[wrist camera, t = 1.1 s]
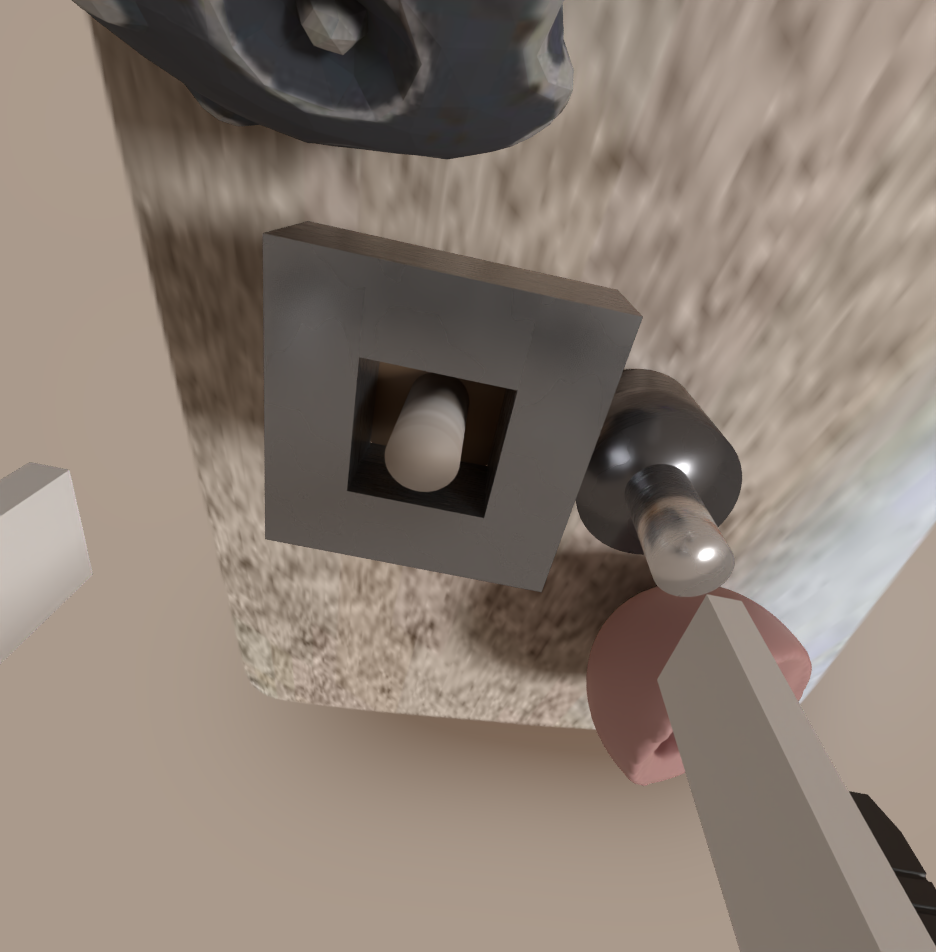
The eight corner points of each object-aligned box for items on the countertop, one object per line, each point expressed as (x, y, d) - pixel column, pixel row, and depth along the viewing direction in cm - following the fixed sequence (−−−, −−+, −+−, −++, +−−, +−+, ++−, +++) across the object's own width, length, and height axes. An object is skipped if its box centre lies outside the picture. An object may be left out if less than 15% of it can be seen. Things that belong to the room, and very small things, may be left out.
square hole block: (307, 221, 16) (262, 233, 13) (618, 290, 17) (642, 316, 14) (299, 486, 21) (265, 539, 18) (536, 533, 22) (541, 592, 19)
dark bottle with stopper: (585, 356, 26) (632, 464, 16) (720, 384, 26) (841, 507, 17) (547, 474, 29) (568, 618, 20) (666, 498, 30) (740, 651, 20)
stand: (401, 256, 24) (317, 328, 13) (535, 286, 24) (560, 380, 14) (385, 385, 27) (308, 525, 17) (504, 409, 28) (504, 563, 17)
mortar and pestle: (705, 688, 38) (775, 870, 28) (549, 650, 37) (566, 826, 27) (802, 568, 32) (935, 747, 22) (619, 519, 31) (673, 684, 21)
